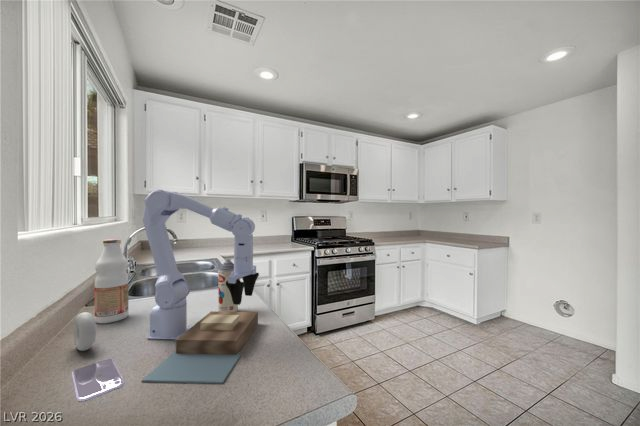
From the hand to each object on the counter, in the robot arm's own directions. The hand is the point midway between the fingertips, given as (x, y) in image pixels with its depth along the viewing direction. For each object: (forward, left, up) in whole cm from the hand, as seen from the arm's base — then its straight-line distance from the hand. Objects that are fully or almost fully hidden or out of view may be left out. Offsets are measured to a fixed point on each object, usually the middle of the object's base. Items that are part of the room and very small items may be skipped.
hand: (243, 299), depth 83 cm
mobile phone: (-25, -25, -10) cm, 37 cm away
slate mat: (-5, -20, -10) cm, 23 cm away
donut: (-40, -13, -10) cm, 43 cm away
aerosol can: (-11, +15, -10) cm, 21 cm away
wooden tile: (-5, -6, -6) cm, 9 cm away
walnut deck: (-5, -5, -10) cm, 12 cm away
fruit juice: (-50, +8, -10) cm, 51 cm away
